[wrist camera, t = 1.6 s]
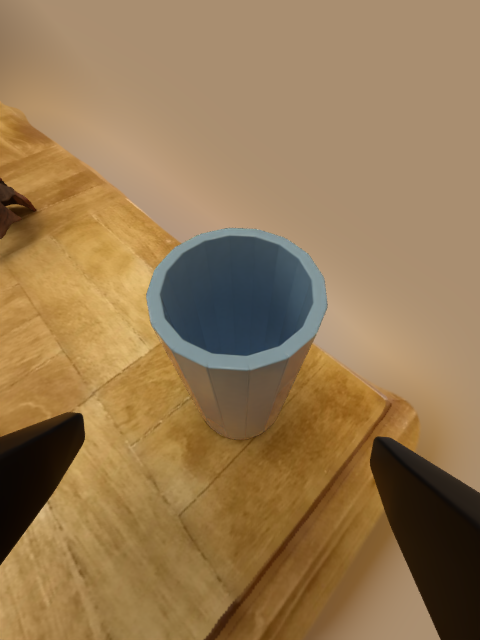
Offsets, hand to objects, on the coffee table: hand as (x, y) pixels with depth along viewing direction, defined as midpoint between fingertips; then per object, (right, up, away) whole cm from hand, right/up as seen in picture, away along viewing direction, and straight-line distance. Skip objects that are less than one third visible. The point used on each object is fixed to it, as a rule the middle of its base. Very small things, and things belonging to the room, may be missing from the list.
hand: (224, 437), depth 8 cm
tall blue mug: (+1, -1, +13) cm, 13 cm away
